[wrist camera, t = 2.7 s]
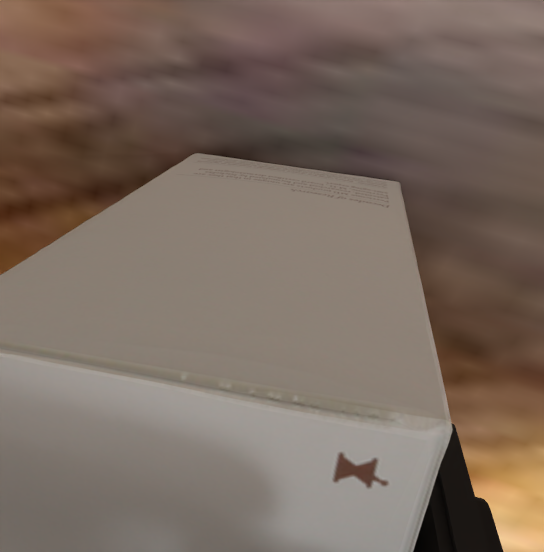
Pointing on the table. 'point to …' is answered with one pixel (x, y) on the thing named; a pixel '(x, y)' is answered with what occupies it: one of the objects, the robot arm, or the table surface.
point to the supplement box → (222, 371)
